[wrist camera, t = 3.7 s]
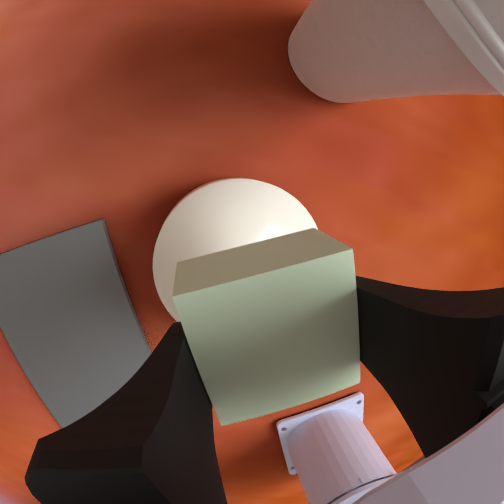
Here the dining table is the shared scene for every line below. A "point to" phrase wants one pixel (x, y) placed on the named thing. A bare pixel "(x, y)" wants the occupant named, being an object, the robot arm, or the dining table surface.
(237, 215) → the white shallow dome
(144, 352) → the mat
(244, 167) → the dining table surface
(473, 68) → the coffee cup
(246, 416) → the pale green square block
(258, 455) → the dining table surface
